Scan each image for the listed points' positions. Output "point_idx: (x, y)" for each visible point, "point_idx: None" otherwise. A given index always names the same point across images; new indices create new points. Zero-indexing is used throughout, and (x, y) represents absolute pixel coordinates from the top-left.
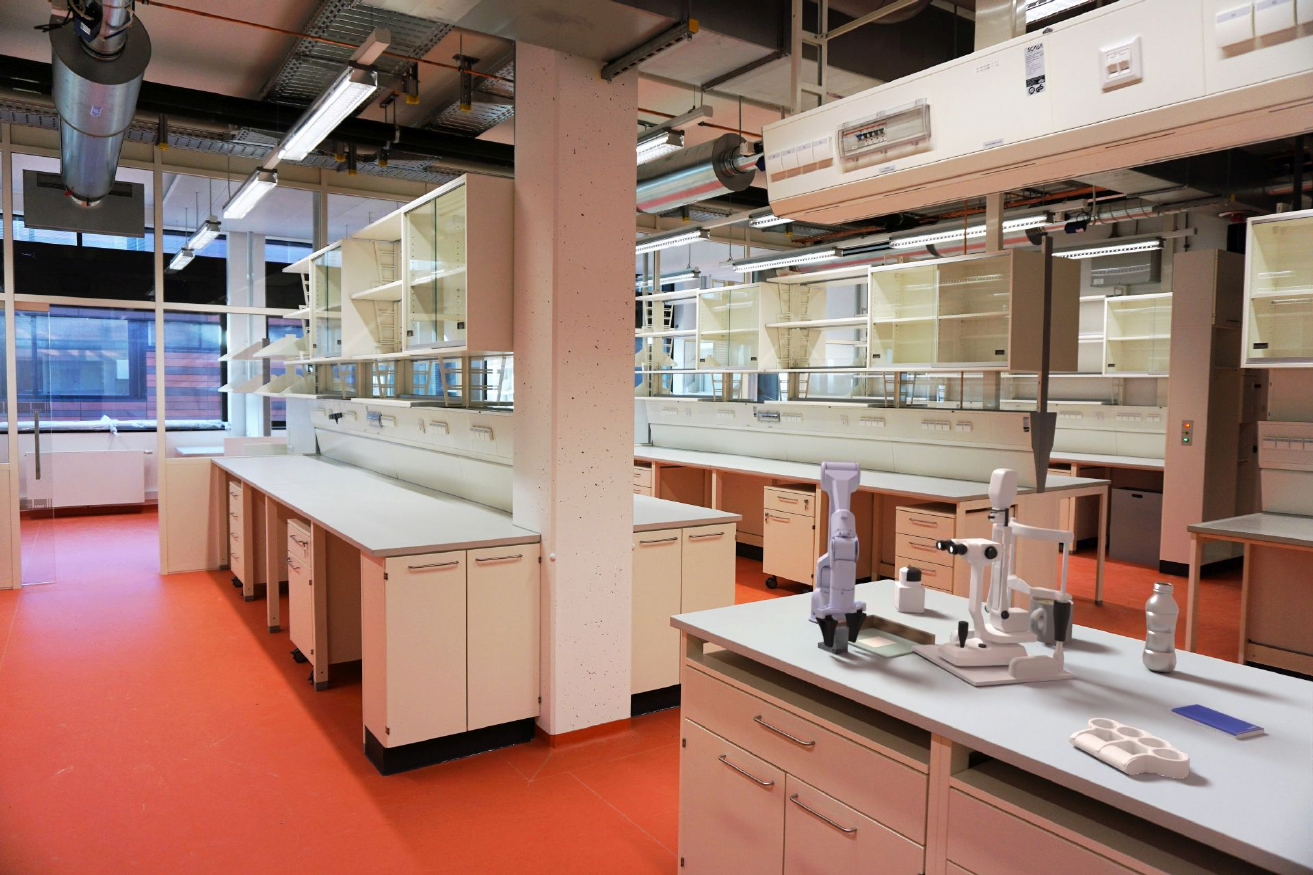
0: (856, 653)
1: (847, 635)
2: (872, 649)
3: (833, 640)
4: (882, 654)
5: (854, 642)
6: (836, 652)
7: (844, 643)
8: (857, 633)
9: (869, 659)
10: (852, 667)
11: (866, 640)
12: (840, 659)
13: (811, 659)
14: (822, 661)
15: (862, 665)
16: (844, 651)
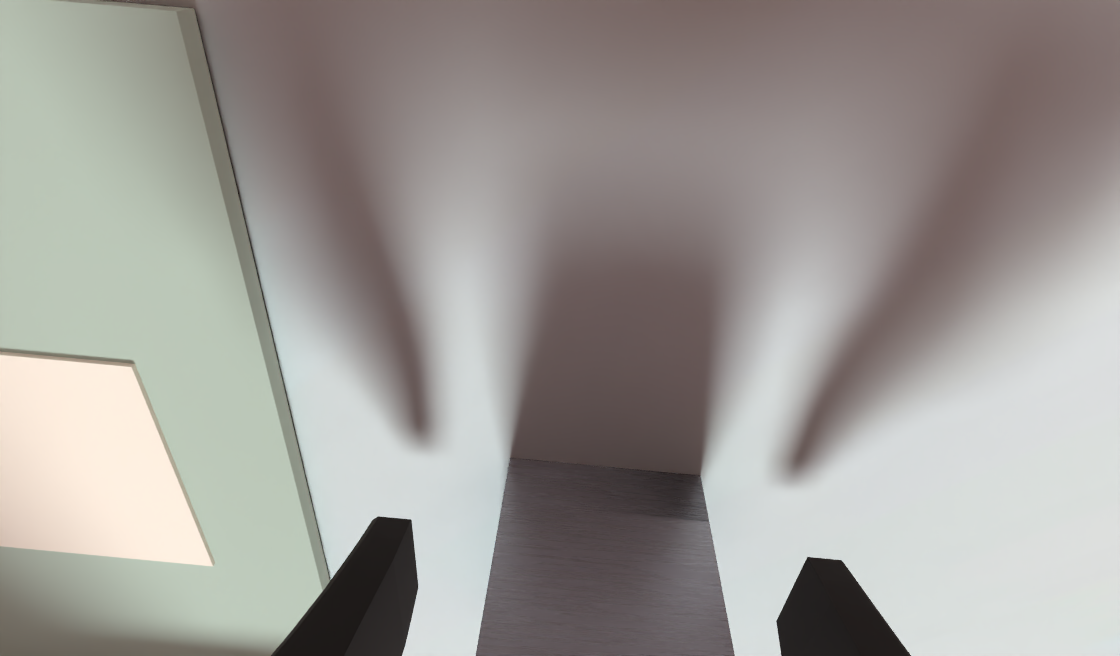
0: (460, 385)
1: (499, 652)
2: (199, 348)
3: (863, 645)
4: (179, 144)
5: (399, 521)
6: (691, 491)
7: (560, 555)
8: (321, 629)
9: (489, 152)
10: (1070, 50)
11: (94, 528)
12: (822, 362)
13: (1060, 513)
14: (1056, 427)
15: (842, 18)
16: (563, 472)
